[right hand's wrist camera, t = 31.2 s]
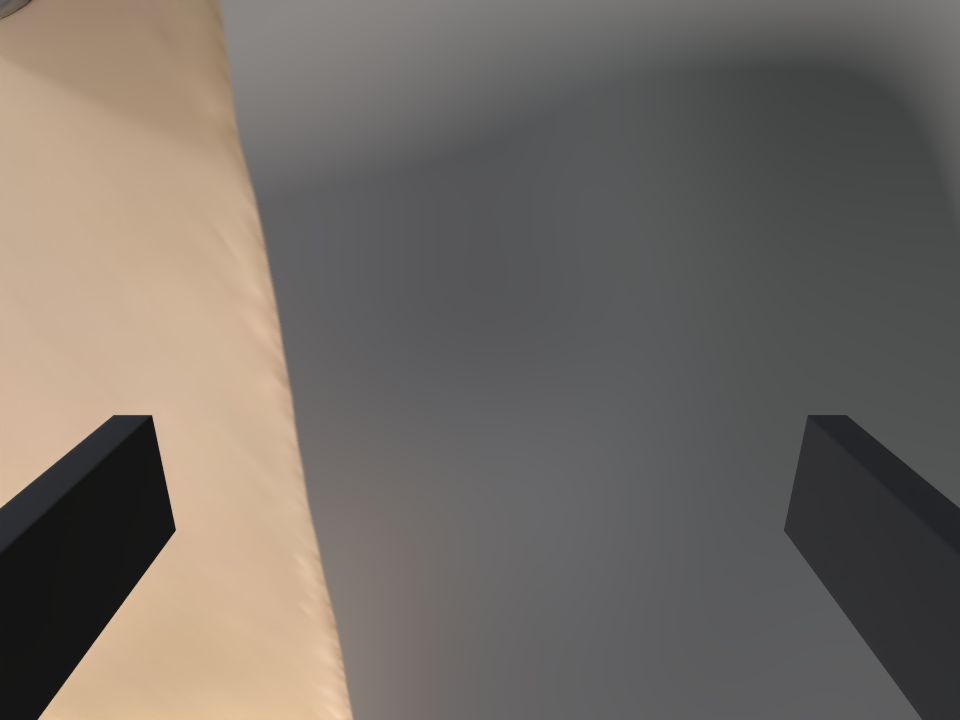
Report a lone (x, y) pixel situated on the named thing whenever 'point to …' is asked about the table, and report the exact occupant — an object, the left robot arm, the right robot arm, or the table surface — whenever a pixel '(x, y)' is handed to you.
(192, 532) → the table surface
